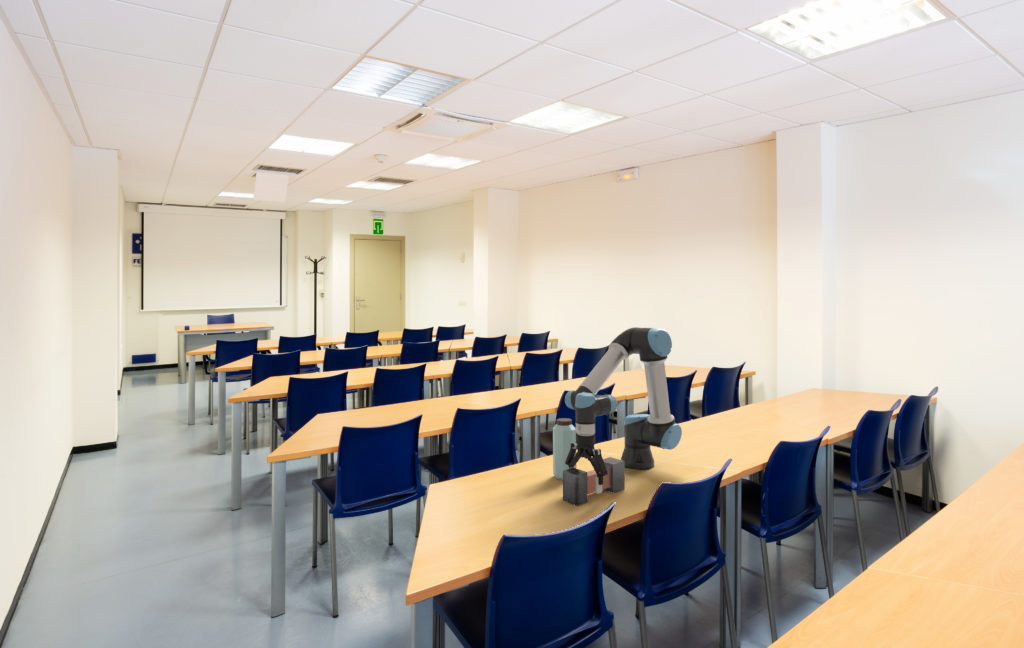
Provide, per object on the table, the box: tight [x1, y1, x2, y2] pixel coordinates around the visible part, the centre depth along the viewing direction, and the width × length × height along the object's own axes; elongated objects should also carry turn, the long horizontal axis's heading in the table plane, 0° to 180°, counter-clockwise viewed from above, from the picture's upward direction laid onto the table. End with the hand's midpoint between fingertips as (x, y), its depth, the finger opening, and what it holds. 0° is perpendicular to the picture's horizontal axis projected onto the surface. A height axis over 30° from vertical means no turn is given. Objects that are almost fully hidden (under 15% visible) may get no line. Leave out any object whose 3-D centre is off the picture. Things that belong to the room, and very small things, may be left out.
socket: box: [562, 467, 589, 506], centre depth 207 cm, size 6×7×12 cm
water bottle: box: [552, 417, 577, 481], centre depth 236 cm, size 10×10×25 cm
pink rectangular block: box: [586, 469, 610, 495], centre depth 213 cm, size 18×4×7 cm, turn 129°
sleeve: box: [602, 456, 626, 494], centre depth 220 cm, size 7×7×12 cm
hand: (585, 488), depth 211 cm, fingers open, 13 cm apart
